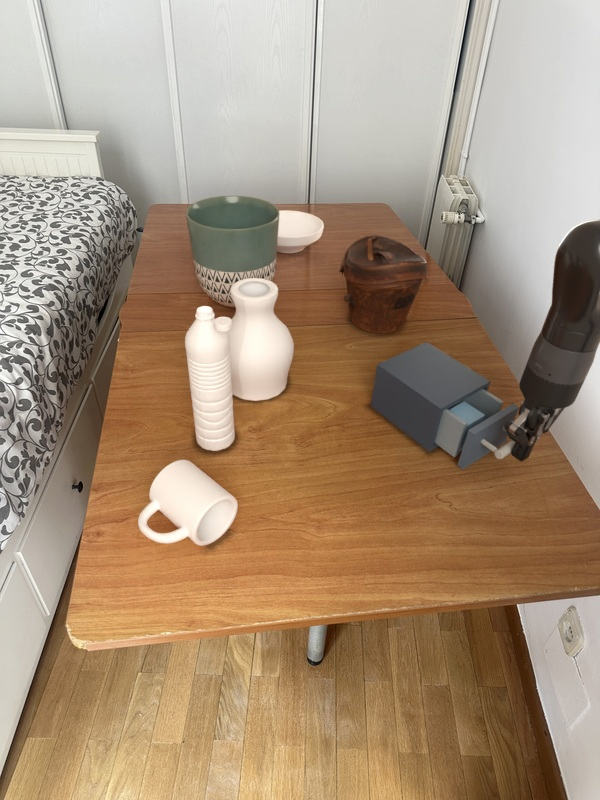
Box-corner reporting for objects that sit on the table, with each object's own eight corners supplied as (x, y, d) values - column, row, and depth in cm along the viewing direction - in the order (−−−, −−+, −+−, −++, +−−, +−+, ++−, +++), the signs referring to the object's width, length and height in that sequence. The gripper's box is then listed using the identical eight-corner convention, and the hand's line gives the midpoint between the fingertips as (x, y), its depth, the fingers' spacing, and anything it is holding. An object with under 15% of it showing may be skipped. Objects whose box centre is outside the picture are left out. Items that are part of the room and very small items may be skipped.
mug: (196, 486, 83) (191, 449, 78) (239, 522, 78) (237, 486, 73) (128, 532, 76) (118, 495, 71) (172, 575, 71) (164, 539, 66)
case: (358, 291, 134) (366, 220, 123) (431, 317, 126) (447, 243, 114) (318, 320, 123) (323, 245, 111) (396, 351, 114) (410, 273, 103)
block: (458, 420, 94) (464, 400, 92) (478, 434, 92) (485, 414, 89) (441, 430, 92) (447, 410, 89) (462, 444, 90) (468, 425, 87)
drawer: (527, 456, 90) (542, 421, 85) (484, 486, 84) (497, 450, 79) (445, 400, 100) (454, 366, 95) (402, 423, 95) (410, 389, 90)
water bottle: (188, 437, 91) (171, 307, 76) (219, 420, 95) (209, 293, 79) (220, 465, 87) (209, 333, 71) (251, 446, 90) (247, 316, 74)
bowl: (252, 234, 159) (251, 210, 155) (317, 233, 161) (318, 210, 157) (255, 263, 144) (254, 237, 140) (326, 262, 146) (328, 236, 142)
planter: (252, 275, 139) (250, 190, 125) (294, 308, 126) (297, 218, 113) (181, 293, 130) (171, 204, 117) (218, 331, 118) (211, 236, 104)
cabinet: (476, 423, 97) (490, 381, 91) (429, 452, 91) (440, 408, 85) (417, 382, 106) (426, 341, 100) (370, 406, 100) (377, 364, 93)
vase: (276, 412, 97) (277, 316, 85) (205, 393, 101) (196, 298, 88) (303, 369, 108) (307, 278, 95) (238, 353, 111) (234, 263, 99)
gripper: (554, 397, 67) (513, 490, 78) (609, 363, 73) (564, 453, 84) (504, 368, 71) (472, 460, 82) (560, 338, 78) (523, 426, 89)
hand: (519, 456), depth 83 cm, fingers closed
